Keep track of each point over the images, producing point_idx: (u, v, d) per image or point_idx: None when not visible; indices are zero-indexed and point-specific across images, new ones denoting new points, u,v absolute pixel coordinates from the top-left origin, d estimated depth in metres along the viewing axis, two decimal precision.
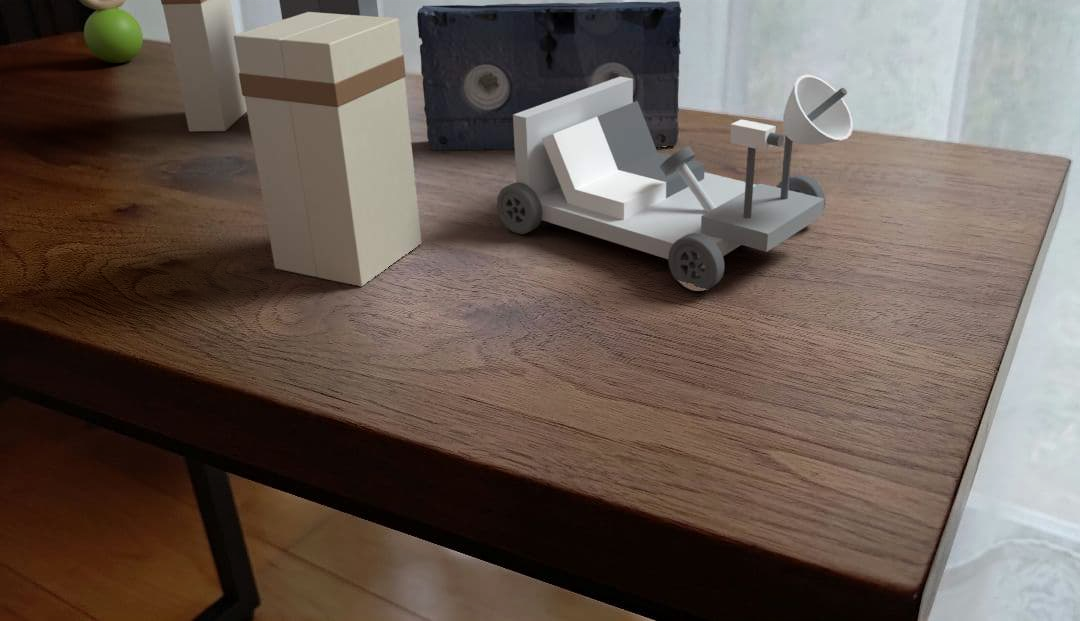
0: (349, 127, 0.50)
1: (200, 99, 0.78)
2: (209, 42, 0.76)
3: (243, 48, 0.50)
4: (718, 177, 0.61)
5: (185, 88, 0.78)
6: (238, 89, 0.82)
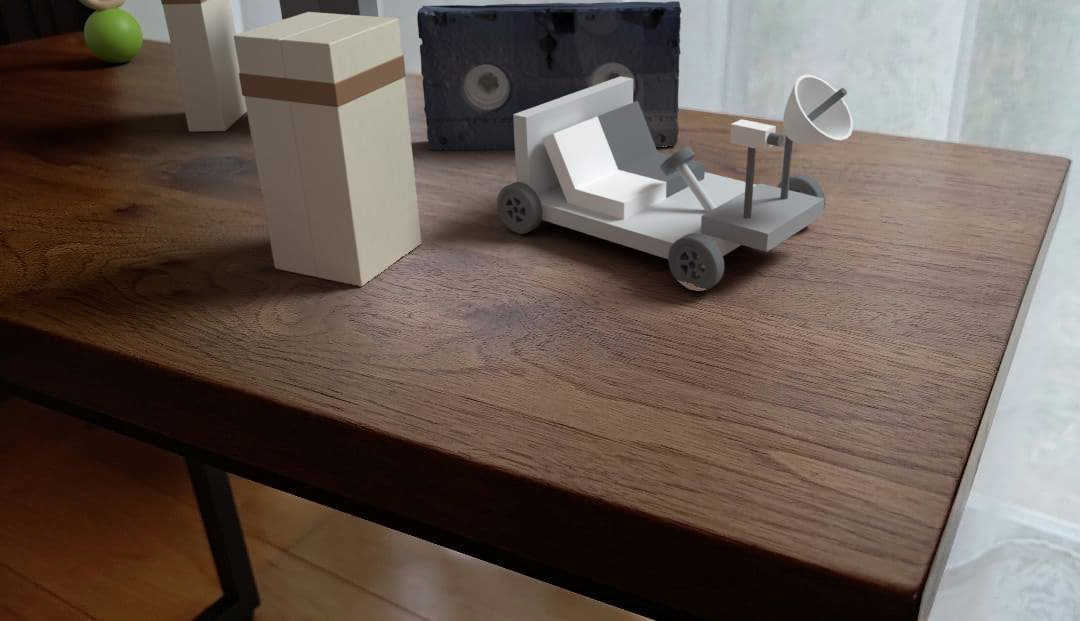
0: (349, 127, 0.50)
1: (200, 99, 0.78)
2: (209, 42, 0.76)
3: (243, 48, 0.50)
4: (718, 177, 0.61)
5: (185, 88, 0.78)
6: (238, 89, 0.82)
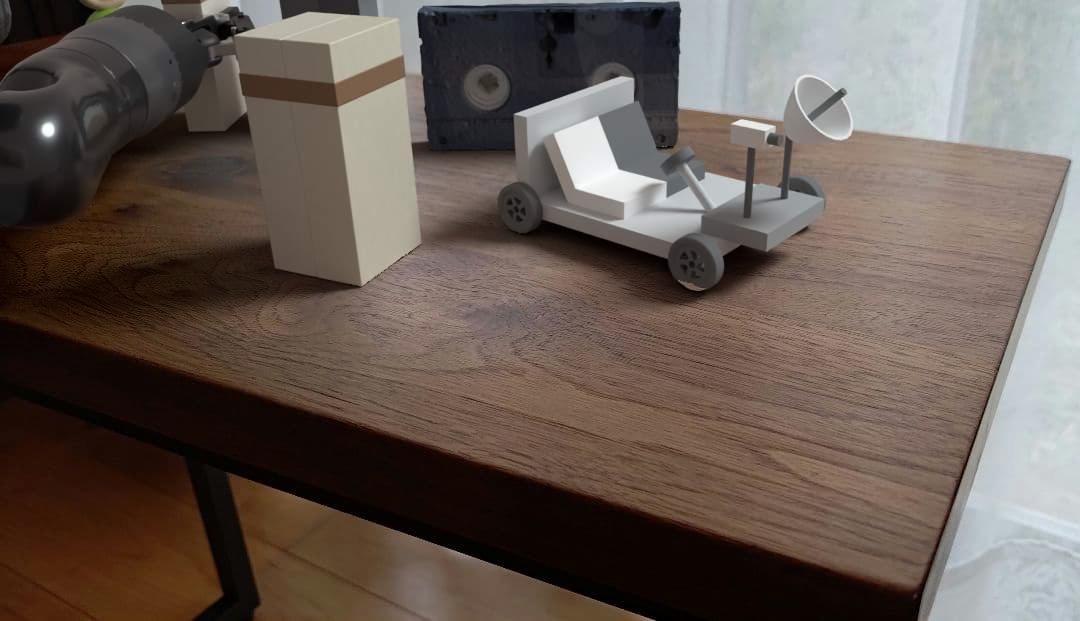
0: (349, 127, 0.50)
1: (199, 99, 0.78)
2: None
3: (243, 48, 0.50)
4: (719, 177, 0.61)
5: None
6: (238, 89, 0.82)
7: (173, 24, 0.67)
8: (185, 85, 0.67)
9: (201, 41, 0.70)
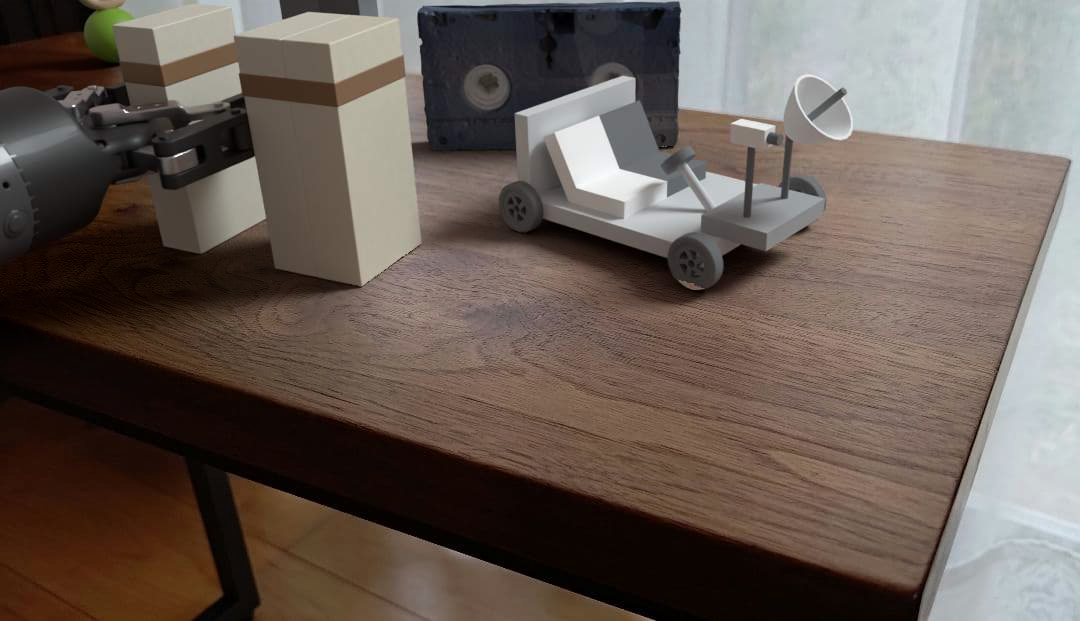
0: (349, 127, 0.50)
1: (171, 208, 0.58)
2: None
3: (243, 48, 0.50)
4: (720, 176, 0.61)
5: (156, 192, 0.58)
6: (246, 194, 0.61)
7: (49, 121, 0.47)
8: (46, 213, 0.46)
9: (107, 144, 0.49)
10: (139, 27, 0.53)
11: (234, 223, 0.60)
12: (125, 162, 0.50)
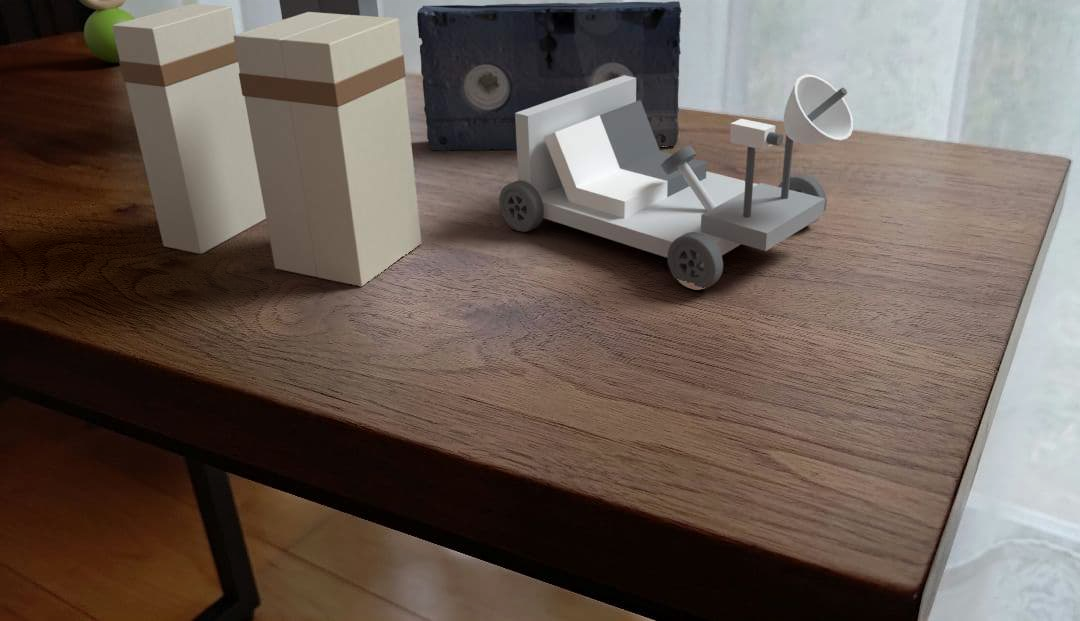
0: (349, 127, 0.50)
1: (171, 208, 0.58)
2: (180, 138, 0.55)
3: (243, 48, 0.50)
4: (720, 176, 0.61)
5: (156, 192, 0.58)
6: (246, 194, 0.61)
7: None
8: None
9: None
10: (139, 27, 0.53)
11: (234, 223, 0.60)
12: None
